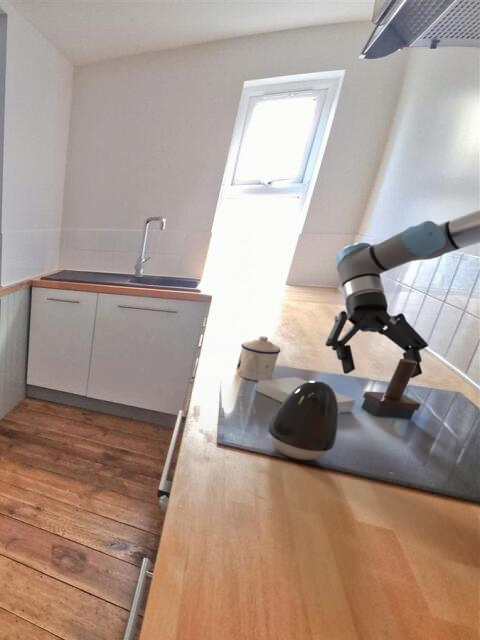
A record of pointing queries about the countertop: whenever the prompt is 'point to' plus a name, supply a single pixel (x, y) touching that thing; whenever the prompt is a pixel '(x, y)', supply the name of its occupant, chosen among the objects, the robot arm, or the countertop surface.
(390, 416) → the scrub brush
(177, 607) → the countertop surface
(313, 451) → the dark grey egg-shaped speaker
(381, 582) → the countertop surface
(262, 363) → the teacup with lid
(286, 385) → the white tile
